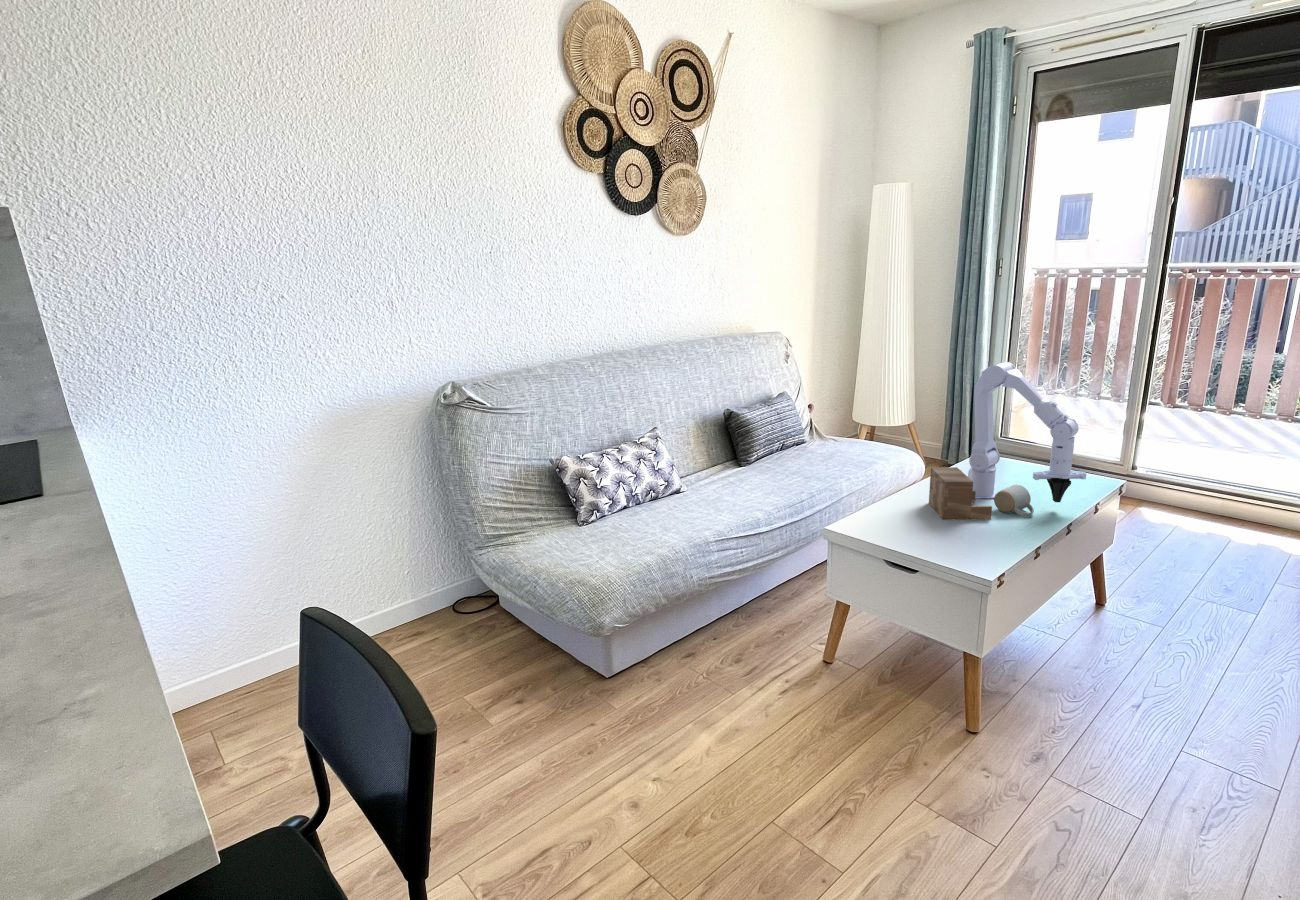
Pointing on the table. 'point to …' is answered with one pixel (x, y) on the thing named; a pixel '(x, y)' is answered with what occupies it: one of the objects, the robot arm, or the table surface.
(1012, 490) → the ceramic mug
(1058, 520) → the table surface
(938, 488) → the stepped wooden block
